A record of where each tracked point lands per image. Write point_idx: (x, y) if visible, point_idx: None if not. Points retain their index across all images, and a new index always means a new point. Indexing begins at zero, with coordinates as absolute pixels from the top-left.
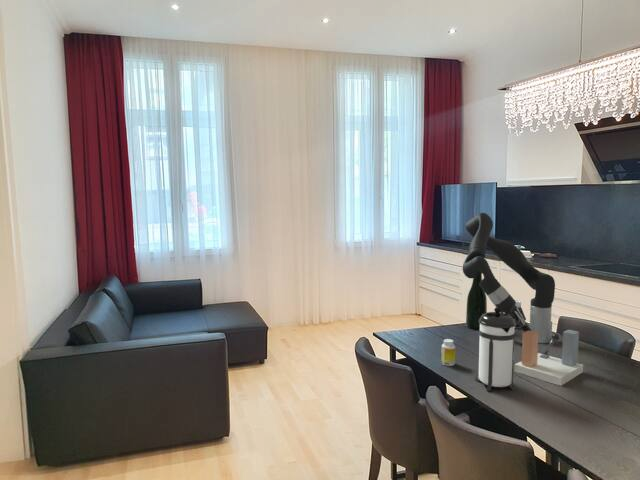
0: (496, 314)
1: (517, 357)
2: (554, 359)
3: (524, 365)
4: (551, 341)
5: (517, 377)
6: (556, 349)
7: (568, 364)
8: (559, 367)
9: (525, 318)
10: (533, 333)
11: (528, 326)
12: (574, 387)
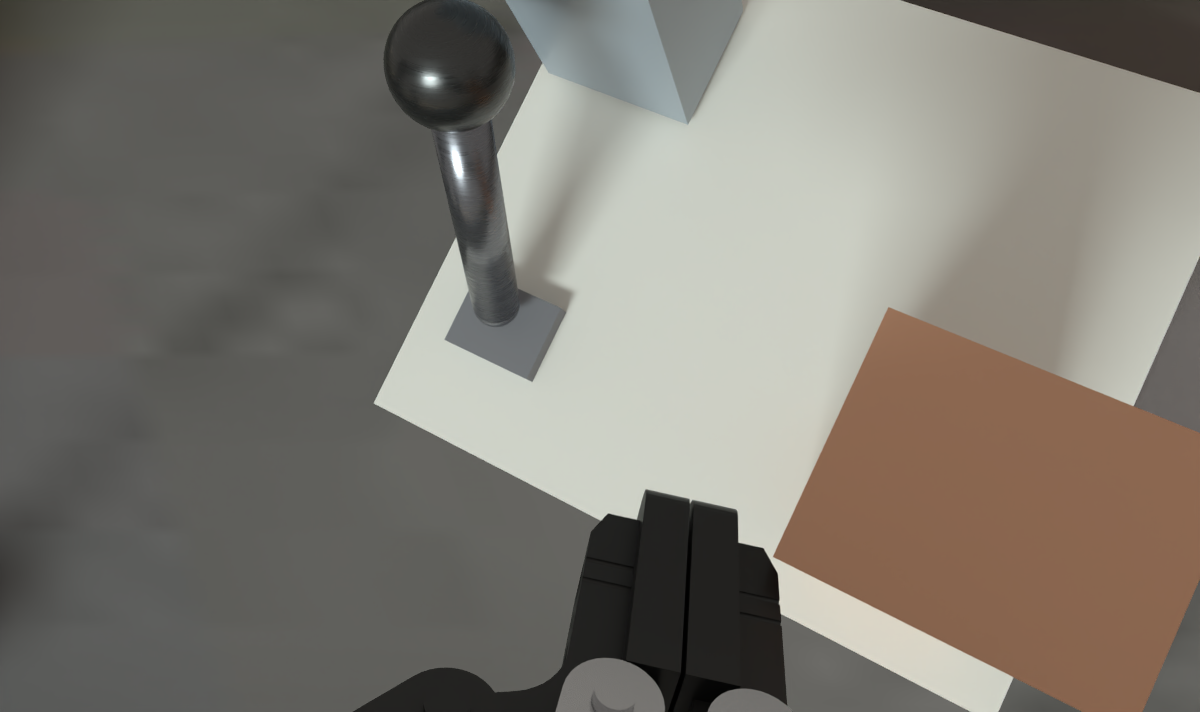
0: None
1: (419, 654)
2: (551, 211)
3: None
4: (480, 163)
5: (1193, 664)
6: (22, 229)
7: (721, 46)
8: (835, 146)
9: (454, 695)
10: (1061, 432)
11: (639, 568)
12: (1179, 20)
